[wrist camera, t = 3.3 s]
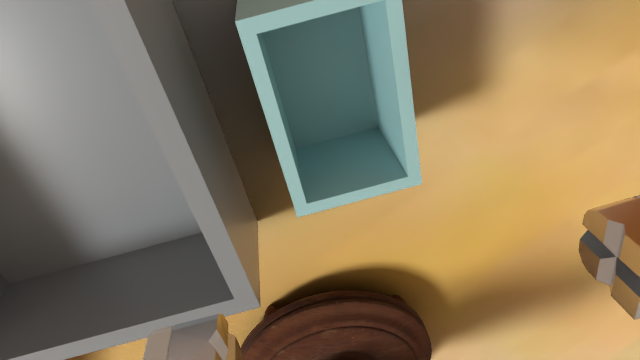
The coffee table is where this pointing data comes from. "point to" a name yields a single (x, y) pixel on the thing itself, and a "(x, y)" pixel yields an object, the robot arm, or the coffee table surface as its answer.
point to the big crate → (112, 181)
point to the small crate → (334, 96)
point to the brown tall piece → (340, 329)
